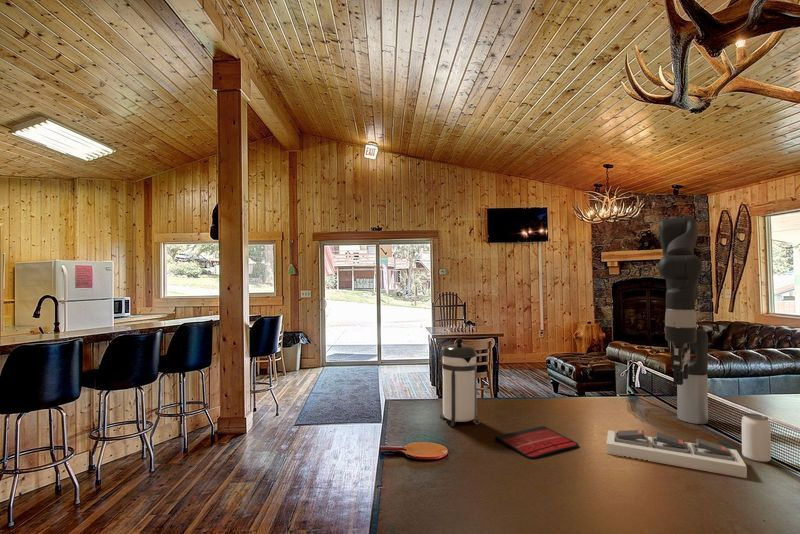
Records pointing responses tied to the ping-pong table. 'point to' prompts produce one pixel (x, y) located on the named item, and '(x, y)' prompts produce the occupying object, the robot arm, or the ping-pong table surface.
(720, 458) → the switch panel
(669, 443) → the rocker
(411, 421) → the ping-pong table surface
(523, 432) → the binder
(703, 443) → the rocker
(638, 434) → the rocker
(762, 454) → the can
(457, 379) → the coffee press
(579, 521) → the ping-pong table surface
